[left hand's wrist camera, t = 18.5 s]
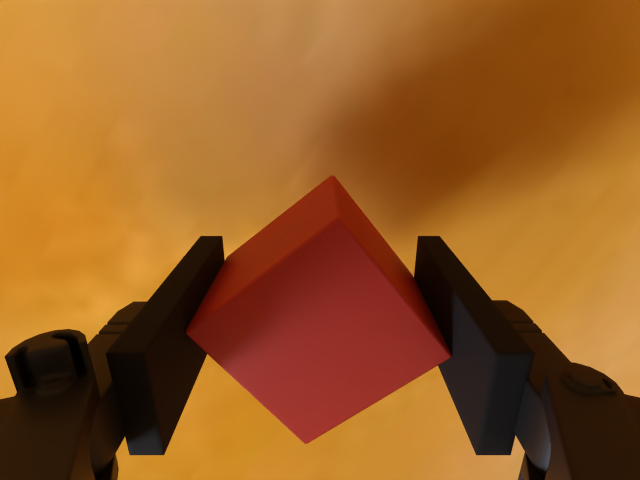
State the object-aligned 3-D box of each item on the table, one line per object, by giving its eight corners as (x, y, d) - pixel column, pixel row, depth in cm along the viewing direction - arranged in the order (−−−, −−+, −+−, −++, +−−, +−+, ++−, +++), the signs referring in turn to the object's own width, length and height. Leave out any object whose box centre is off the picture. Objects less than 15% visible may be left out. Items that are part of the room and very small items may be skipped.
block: (332, 173, 13) (339, 215, 9) (413, 275, 15) (454, 357, 10) (225, 257, 14) (183, 333, 10) (309, 344, 16) (305, 446, 11)
